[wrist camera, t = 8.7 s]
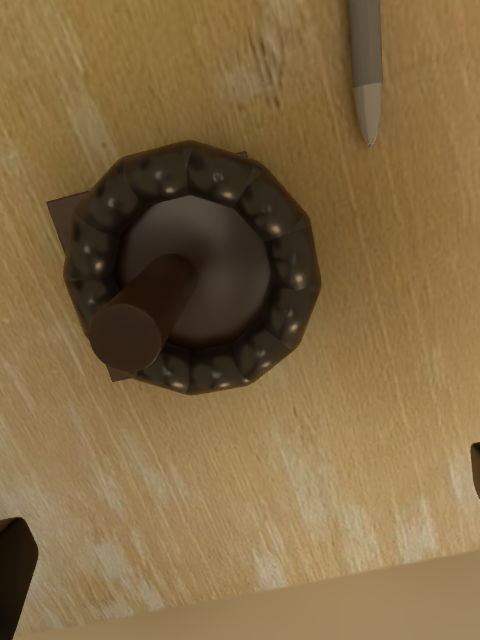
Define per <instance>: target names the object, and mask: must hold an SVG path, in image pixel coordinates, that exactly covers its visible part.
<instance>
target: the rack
mask: <svg viewBox="0 0 480 640" xmlns="http://www.w3.org/2000/svg"><path fill="white" fill-rule="evenodd" d="M235 154H238V155H242V156H245V157H248V154H247V152H246V151H243V152H239V153H235ZM88 193H89V191H87V192H83V193H79V194H76V195H72V196H68V197H64V198H60V199H56V200H52V201H48V202H47V203H46V204H47V206H48V209H49V212H50V214H51V217H52V220H53V223H54V225H55V228H56V231H57V233H58V236H59V239H60V241H61V244H62V247H63V250H64V252H65V255H66V251H67V245H68V239H69V232H70V226H71V220H72V215H73V212H74V209H75V208H76V206H77V205H78V204H79V203H80V202H81V200H82V199H83V198H84V197H85V196H86V195H87V194H88ZM113 275H114V278H115V281H116V284H117V287H118V290H119V293H118V294H117V295H116V296H115V297H114V298H113V299H112V300H110V301H109V302H108V303H107V304H106V305H105V306H104V307H103V308H102V309H101V310H100V311H99V312H97V314H96V315H95V316H94V317H93V319H92V321H91V323H90V327H89V341H90V344H91V347H92V349H93V351H94V353H95V354H96V356H97V357H98V358H99V359H100V360H101V361H102V362H103V363H104V364H106V366H107V369H108V371H109V374H110V377H111V380H112V382H114V381H119V380H125V379H130V378H131V377H129V376H128V375H127V374H126V373H125V372H133V371H138V370H142V369H144V368H146V367H148V366H149V365H151V364H152V363H153V362H154V361H155V360H156V358H157V357H158V355H159V353H160V351H161V349H162V348H163V346H164V344H165V343H168V344H172V345H175V346H178V347H182V348H185V349H189V350H192V351H196V350H201V349H206V348H211V347H216V346H221V345H226V344H231V343H233V342H234V341H235V340H236V339H237V338H239V337H240V336H241V335H242V334H243V333H244V332H246V331H247V330H248V329H249V328H250V327H251V326H253V325H254V324H255V323H256V322H257V321H258V320H260V318H261V315H262V312H263V309H264V306H265V303H266V300H267V297H268V295H269V292H270V289H271V286H272V283H273V281H272V276H271V272H270V267H269V263H268V258H267V254H266V249H265V245H264V241H263V240H262V239H261V238H260V237H259V236H258V235H257V233H256V232H255V231H254V230H253V229H252V228H251V227H250V226H249V225H248V224H247V223H246V221H245V220H244V219H243V218H242V217H241V216H240V215H239V214H238V213H237V212H236V211H235V209H234V208H230V207H227V206H224V205H221V204H218V203H214V202H211V201H208V200H205V199H202V198H198V197H195V196H192V195H189V196H184V197H180V198H176V199H172V200H168V201H164V202H160V203H156V204H152V205H149V206H148V207H147V208H146V209H145V210H144V211H143V212H142V213H141V214H140V215H139V216H138V217H137V218H136V219H135V220H134V221H133V222H132V223H131V224H130V226H129V227H128V228H127V229H126V230H125V231H124V232H123V233H122V234H121V236H120V241H119V246H118V251H117V256H116V261H115V266H114V271H113ZM124 371H125V372H124Z"/></svg>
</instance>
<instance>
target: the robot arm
mask: <svg viewBox="0 0 480 640" xmlns="http://www.w3.org/2000/svg"><path fill="white" fill-rule="evenodd" d="M471 462H472V473H473V482H474V486H475V490H476V492H477V495H478V497H479V499H480V442H477V443H473V444H472V446H471ZM37 560H38V546H37V544H36V542H35V540H34V537H33V535H32V533H31V531H30V529H29V527H28V525H27V523H26V521H25V520H24V519H23V518H21V517H14V518H8V519H3V520H0V640H12V639H13V636H14V633H15V630H16V627H17V624H18V621H19V618H20V615H21V612H22V608H23V605H24V602H25V599H26V596H27V592H28V589H29V586H30V583H31V580H32V576H33V573H34V570H35V567H36V564H37Z"/></svg>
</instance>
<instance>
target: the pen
mask: <svg viewBox="0 0 480 640" xmlns="http://www.w3.org/2000/svg"><path fill="white" fill-rule="evenodd" d="M348 7H349V24H350V42H351V59H352V77H353V87H354V93H355V104H356V109H357V116H358V121H359V126H360V130H361V132H362V135H363V138H364V140H365V142H366V144H369V148H372V147H373V143H375V141H376V138H377V135H378V131H379V127H380V119H381V106H382V83H383V72H382V45H381V18H380V0H348Z"/></svg>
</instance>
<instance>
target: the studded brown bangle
mask: <svg viewBox="0 0 480 640" xmlns="http://www.w3.org/2000/svg"><path fill="white" fill-rule="evenodd" d="M189 195H192V196H195V197H198V198H202V199H205V200H208V201H211V202H214V203H218V204H221V205H224V206H227V207H230V208H234V209H235V211H236V212H237V213H238V214H239V215H240V216H241V217H242V218H243V219H244V220H245V221H246V223H247V224H248V225H249V226H250V227H251V228H252V229H253V230H254V231H255V232H256V233H257V235H258V236H259V237H260V238H261V239H262V240H263V241H264V245H265V249H266V254H267V258H268V263H269V267H270V272H271V276H272V281H273V283H272V286H271V289H270V292H269V295H268V297H267V300H266V303H265V306H264V309H263V312H262V315H261V318H260V320H258V321H257V322H256V323H255V324H254V325H253V326H251V327H250V328H249V329H248V330H247V331H246V332H244V333H243V334H242V335H241V336H240V337H239V338H237V339H236V340H235V341H234V342H233V343H231V344H226V345H221V346H216V347H211V348H206V349H201V350H196V351H192V350H189V349H185V348H182V347H178V346H175V345H172V344H168V343H165V344H164V346H163V348H162V349H161V351H160V353H159V355H158V357H157V358H156V360H155V361H154V362H153V363H152V364H151V365H149V366H148V367H146V368H144V369H142V370H138V371H133V372H125V371H124V372H125V373H126V374H127V375H128V376H129V377H131V378H132V379H135V380H138V381H141V382H145V383H148V384H151V385H155V386H158V387H162V388H165V389H169V390H172V391H175V392H179V393H182V394H186V395H199V394H204V393H210V392H215V391H221V390H226V389H232V388H237V387H242V386H247V385H250V384H252V383H254V382H255V381H256V380H258V379H259V378H260V377H261V376H263V375H264V374H265V373H266V372H268V371H269V370H270V369H271V368H273V367H274V366H275V365H276V364H277V363H279V362H280V361H281V360H282V359H284V358H285V357H286V356H287V355H289V354H290V353H291V352H292V351H294V350H295V349H296V348H297V347H298V345H299V344H300V342H301V340H302V337H303V335H304V332H305V329H306V327H307V324H308V321H309V319H310V316H311V313H312V311H313V308H314V305H315V303H316V300H317V298H318V295H319V292H320V289H321V276H320V270H319V265H318V259H317V254H316V248H315V243H314V238H313V232H312V227H311V222H310V219H309V217H308V215H307V213H306V212H305V211H304V210H303V209H302V207H301V206H300V205H299V204H298V203H297V202H296V201H295V199H294V198H293V197H292V196H291V195H290V194H289V193H288V192H287V190H286V189H285V188H284V187H283V186H282V185H281V184H280V182H279V181H278V180H277V179H276V178H275V177H274V176H273V174H272V173H271V172H270V171H269V170H268V169H267V168H266V167H265V166H264V165H263V164H262V163H261V162H259V161H257V160H254V159H251V158H248V157H245V156H242V155H238V154H235V153H232V152H229V151H226V150H223V149H220V148H217V147H213V146H210V145H207V144H204V143H201V142H198V141H194V140H186V141H182V142H178V143H174V144H170V145H166V146H162V147H159V148H155V149H151V150H147V151H143V152H140V153H136V154H132V155H128V156H125V157H122V158H121V159H119V160H118V161H117V162H115V164H114V165H113V166H112V167H111V168H110V169H109V170H108V171H107V173H106V174H105V175H104V176H103V177H102V178H101V179H100V180H99V181H98V183H97V184H96V185H95V186H94V187H93V188H92V189H91V190H90V191H89V193H88V194H87V195H86V196H85V197H84V198H83V199H82V200H81V202H80V203H79V204H78V205H77V206H76V208H75V209H74V212H73V215H72V220H71V226H70V232H69V239H68V245H67V251H66V257H65V263H64V269H63V277H64V281H65V284H66V287H67V289H68V292H69V295H70V297H71V300H72V303H73V305H74V308H75V311H76V313H77V316H78V319H79V321H80V324H81V327H82V329H83V332H84V334H85V336H86V337H87V338H88V339H89V327H90V323H91V321H92V319H93V317H94V316H95V315H96V314H97V312H99V311H100V310H101V309H102V308H103V307H104V306H105V305H106V304H107V303H108V302H109V301H110V300H112V299H113V298H114V297H115V296H116V295H117V294H118V293H119V290H118V287H117V284H116V281H115V278H114V275H113V271H114V266H115V261H116V256H117V251H118V246H119V241H120V236H121V234H122V233H123V232H124V231H125V230H126V229H127V228H128V227H129V226H130V224H131V223H132V222H133V221H134V220H135V219H136V218H137V217H138V216H139V215H140V214H141V213H142V212H143V211H144V210H145V209H146V208H147V207H148V206H149V205H152V204H156V203H160V202H164V201H168V200H172V199H176V198H180V197H184V196H189Z"/></svg>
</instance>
